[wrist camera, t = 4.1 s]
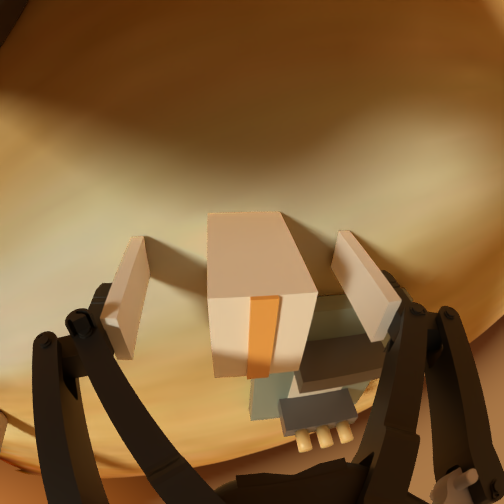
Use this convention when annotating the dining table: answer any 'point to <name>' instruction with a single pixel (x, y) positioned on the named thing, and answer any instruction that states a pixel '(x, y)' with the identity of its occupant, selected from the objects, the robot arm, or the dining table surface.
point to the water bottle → (2, 427)
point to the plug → (256, 295)
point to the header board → (322, 377)
